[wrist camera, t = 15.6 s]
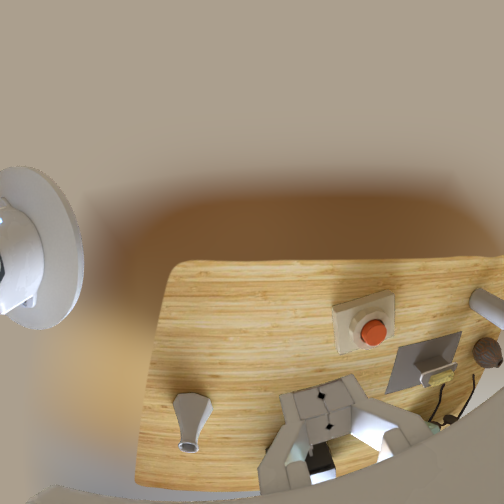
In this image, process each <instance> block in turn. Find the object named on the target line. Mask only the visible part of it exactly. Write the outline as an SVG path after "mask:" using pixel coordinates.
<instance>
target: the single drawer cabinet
mask: <svg viewBox="0 0 504 504" xmlns="http://www.w3.org/2000/svg"><path fill="white" fill-rule="evenodd" d="M324 444H325V446H326V449H327V452H328V455H329V458H330V461H331V466H329V467H327V468H324V469H320V470H317V471H313V472H309V474H310V477H311V481H312V484H316V483H320V482H324V481H327V480H330V479H333V478H336V468H335V465H334V462H333V459H332V457H331V454H330V451H329V448H328V445H327V443H326V441H324ZM268 449H269V448H268ZM268 449H266V453H267V452H268Z"/></svg>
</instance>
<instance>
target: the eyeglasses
mask: <svg viewBox="0 0 504 504" xmlns="http://www.w3.org/2000/svg"><path fill="white" fill-rule="evenodd" d="M474 377H475V375H474V374H473V391H472V393H471V395H470V397H469V399H468V400H467V402H466V404H465V405H464V407H463V409H462V410H461V412H460V414H459V415H458V417H455V416H453V415H445V416H444V417H443V420H444V423H443V424H440V423H438V422H435V421H431V420H432V418H433V416H434V415H435V413H436V411H437V409H438V407H439V405H440V402H441V397H442V390H443V388H444V386H445V383H444V384H443V385H442V387H441V389H440V395H439V402H438V404H437V406H436V408H435V410H434V412H433V414H432V415H431V417H430V419H429V420H428V422H429V423H432V424H435V425H438V426H439V429H441V426H444V425H446V424H450V425H451V424H453V423H455V422H456V421H458V419H459V418H460V416H461V415H462V413H463V411H464V410H465V408H466V406H467V404H468V402H469V400H470V399H471V396H472V394H473V393H474V390H475V379H474Z"/></svg>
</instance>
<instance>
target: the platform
mask: <svg viewBox="0 0 504 504" xmlns="http://www.w3.org/2000/svg"><path fill="white" fill-rule="evenodd" d="M461 334H462V331H460V332H457V333H454V334H450V335H447V336H443V337H439V338H436V339H432V340H428V341H424V342H420V343H416V344H411V345H407V346H402V347H399V349H398V353H397V356H396V360H395V363H394V367H393V370H392V373H391V377H390V380H389V383H388V386H387V389H386V392H385V394H389V393H393V392H396V391H400V390H403V389H407V388H410V387H413V386H416V385H420V384H422V385H423V386H424V387H425V388H426V387H429V386H432V385H433V386H432V387H435V386H438V385H440V384H443V383H446V382H448V381H451V380H452V379H453V376H454V374H455V373H454V371H455V369H456V367H457V365H458V363H457V362H454V363H452V360H453V357H454V355H455V352H456V349H457V346H458V343H459V340H460V337H461Z"/></svg>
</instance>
